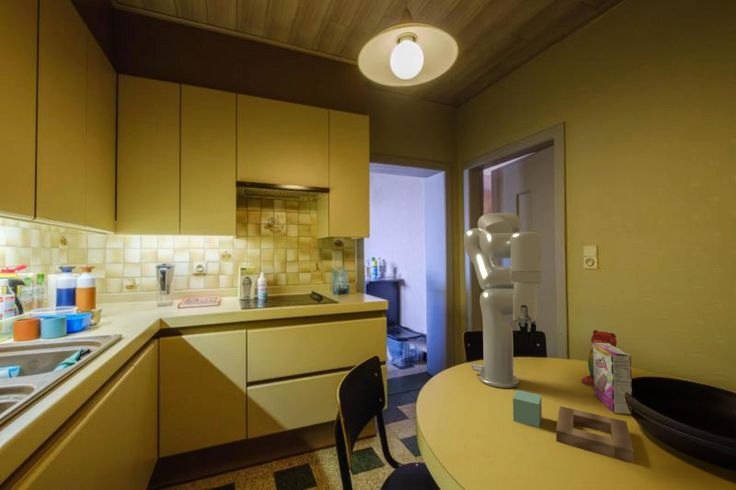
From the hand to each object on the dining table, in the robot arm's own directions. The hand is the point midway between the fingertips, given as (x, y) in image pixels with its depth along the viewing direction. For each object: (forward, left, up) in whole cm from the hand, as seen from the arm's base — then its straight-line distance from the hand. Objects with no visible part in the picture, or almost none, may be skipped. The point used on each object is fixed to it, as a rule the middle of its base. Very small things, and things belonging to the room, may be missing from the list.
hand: (527, 342), depth 84 cm
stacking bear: (+18, +37, -21) cm, 46 cm away
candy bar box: (+19, +22, -21) cm, 35 cm away
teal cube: (0, 0, -20) cm, 21 cm away
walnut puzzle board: (+14, 0, -20) cm, 25 cm away
